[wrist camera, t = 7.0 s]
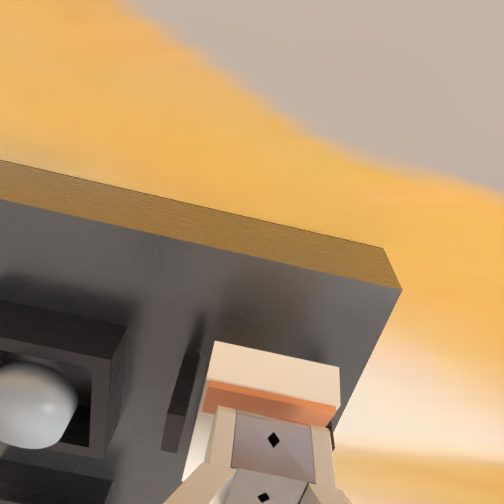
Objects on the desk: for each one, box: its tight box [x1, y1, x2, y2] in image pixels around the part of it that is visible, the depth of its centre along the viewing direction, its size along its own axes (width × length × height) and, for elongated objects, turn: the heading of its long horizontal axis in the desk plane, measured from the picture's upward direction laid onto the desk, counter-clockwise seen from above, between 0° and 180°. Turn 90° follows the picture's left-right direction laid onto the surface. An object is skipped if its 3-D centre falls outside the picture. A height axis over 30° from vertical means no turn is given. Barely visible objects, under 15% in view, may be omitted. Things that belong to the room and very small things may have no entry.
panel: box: [0, 160, 402, 504], centre depth 19 cm, size 22×16×6 cm
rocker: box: [182, 341, 341, 482], centre depth 15 cm, size 9×4×2 cm, turn 168°
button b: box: [0, 361, 78, 449], centre depth 15 cm, size 3×3×1 cm
